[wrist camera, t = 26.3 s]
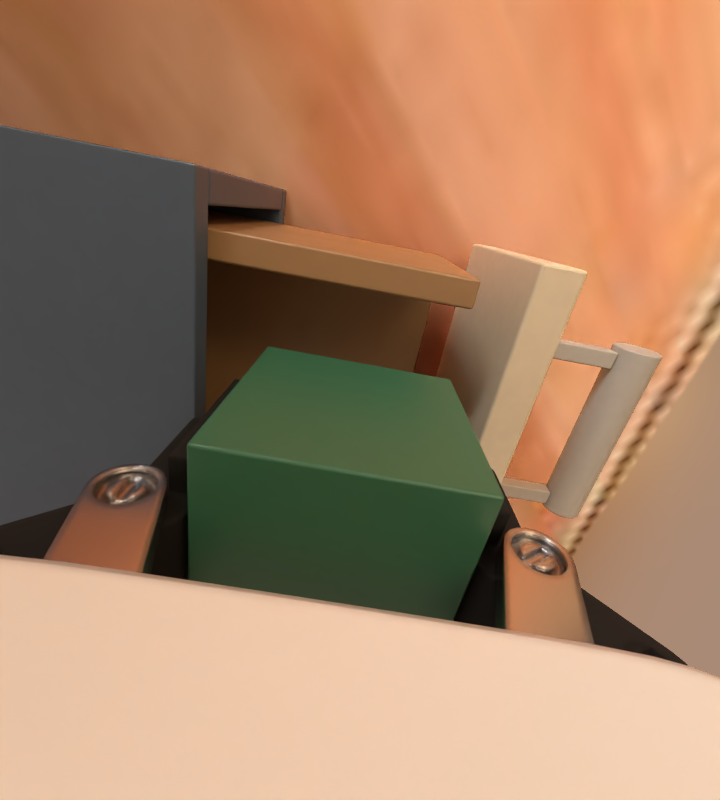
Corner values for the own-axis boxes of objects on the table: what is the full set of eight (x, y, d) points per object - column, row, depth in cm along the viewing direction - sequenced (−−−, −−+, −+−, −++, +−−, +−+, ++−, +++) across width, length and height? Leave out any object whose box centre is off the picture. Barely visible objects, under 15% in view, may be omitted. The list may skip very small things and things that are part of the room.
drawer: (610, 270, 17) (775, 308, 10) (519, 480, 22) (587, 606, 15) (184, 186, 16) (38, 163, 9) (187, 423, 21) (92, 527, 14)
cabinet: (286, 190, 17) (195, 163, 8) (265, 437, 22) (195, 578, 14) (-61, 121, 16) (-552, 14, 8) (2, 392, 22) (-246, 509, 13)
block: (267, 345, 10) (184, 443, 6) (451, 378, 11) (507, 498, 6) (255, 493, 13) (187, 650, 8) (408, 519, 13) (427, 686, 8)
